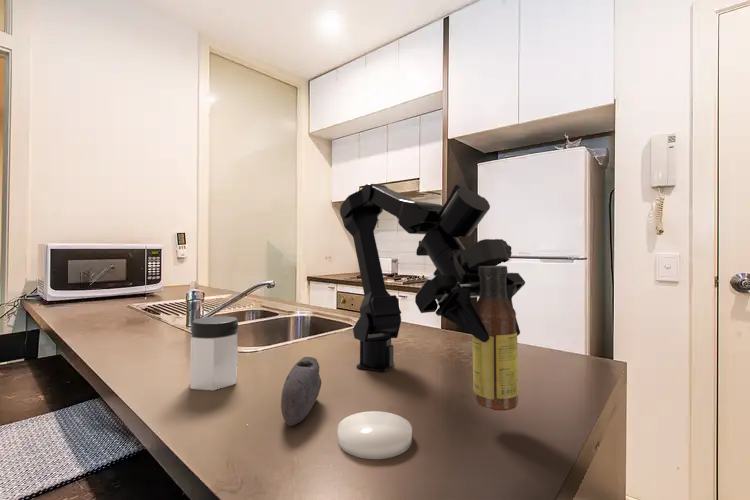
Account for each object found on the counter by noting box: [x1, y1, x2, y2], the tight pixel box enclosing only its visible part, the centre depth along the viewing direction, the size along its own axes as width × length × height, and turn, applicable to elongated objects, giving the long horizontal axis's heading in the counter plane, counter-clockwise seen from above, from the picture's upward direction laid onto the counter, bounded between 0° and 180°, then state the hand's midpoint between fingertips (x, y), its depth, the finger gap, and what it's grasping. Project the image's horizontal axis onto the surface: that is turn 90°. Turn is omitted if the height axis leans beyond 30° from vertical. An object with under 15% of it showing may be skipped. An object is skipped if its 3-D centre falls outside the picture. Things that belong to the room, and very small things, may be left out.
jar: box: [189, 315, 239, 392], centre depth 70 cm, size 9×8×12 cm
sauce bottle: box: [471, 265, 520, 411], centre depth 53 cm, size 7×6×20 cm
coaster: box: [337, 410, 413, 460], centre depth 50 cm, size 10×10×2 cm
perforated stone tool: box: [280, 356, 322, 427], centre depth 58 cm, size 15×5×7 cm, turn 177°
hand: (502, 337), depth 52 cm, fingers closed on sauce bottle, 6 cm apart
